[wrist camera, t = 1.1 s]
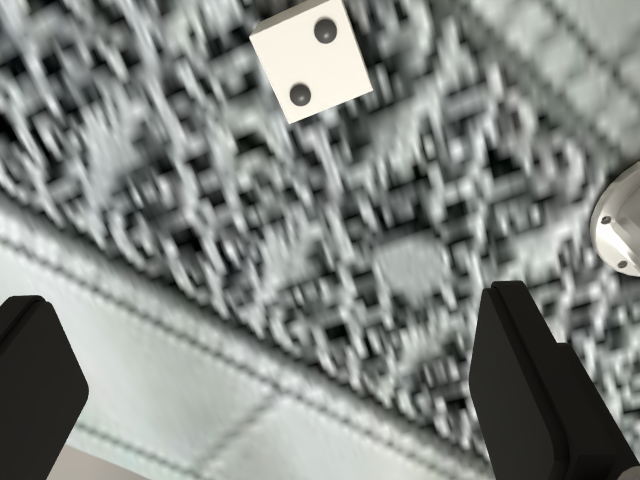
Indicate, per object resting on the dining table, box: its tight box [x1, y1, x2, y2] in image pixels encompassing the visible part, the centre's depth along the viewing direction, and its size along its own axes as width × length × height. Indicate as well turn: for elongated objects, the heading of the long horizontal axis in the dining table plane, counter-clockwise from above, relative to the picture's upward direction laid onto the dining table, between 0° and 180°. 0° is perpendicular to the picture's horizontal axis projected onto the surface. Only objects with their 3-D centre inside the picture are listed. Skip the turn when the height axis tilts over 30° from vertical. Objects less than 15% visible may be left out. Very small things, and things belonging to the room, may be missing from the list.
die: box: [249, 0, 373, 124], centre depth 34 cm, size 6×6×6 cm
